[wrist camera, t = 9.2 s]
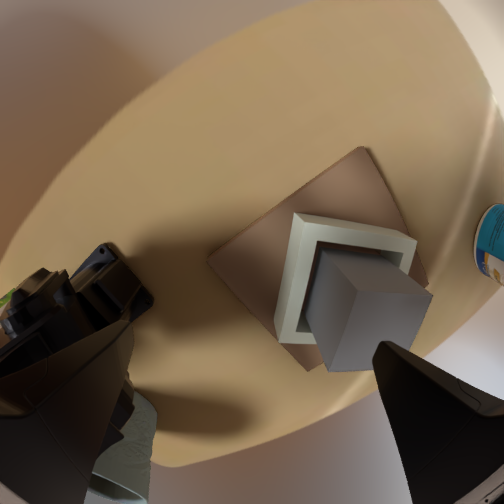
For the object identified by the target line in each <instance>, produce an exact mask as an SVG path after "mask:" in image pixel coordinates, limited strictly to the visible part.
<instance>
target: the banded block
mask: <svg viewBox="0 0 504 504" xmlns="http://www.w3.org/2000/svg"><path fill="white" fill-rule="evenodd" d="M432 297H433V295H432V294H431V293H429V292H428V291H427V290H426V289H425V288H423V287H422V286H421V285H420V284H418V283H417V282H416V281H414V280H413V279H412V278H411V277H409V276H408V275H407V274H406V273H404V272H403V271H402V270H400V269H399V268H398V267H396V266H395V265H394V264H392V263H391V262H390V261H388V260H387V259H386V258H384V257H383V256H382V255H380V254H379V253H378V252H376V251H375V250H374V249H370V248H363V247H357V246H350V245H343V244H336V243H329V242H322V241H317V243H316V248H315V253H314V257H313V262H312V266H311V271H310V275H309V280H308V284H307V288H306V292H305V296H304V300H303V304H302V309H303V312H304V314H305V316H306V319H307V321H308V324H309V326H310V329H311V331H312V333H313V336H314V338H315V341H316V343H317V346H318V348H319V351H320V353H321V356H322V358H323V361H324V363H325V365H326V368H327V371H328V372H347V371H365V370H374V369H373V365H372V358H373V355H374V353H375V351H376V349H377V346H378V344H379V343H380V342H381V341H392V342H394V343H395V344H397V345H399V346H401V347H402V348H404V349H406V350H408V351H409V349H410V347H411V345H412V343H413V341H414V339H415V337H416V335H417V332H418V330H419V328H420V326H421V324H422V321H423V319H424V317H425V314H426V312H427V309H428V307H429V304H430V302H431V299H432Z"/></svg>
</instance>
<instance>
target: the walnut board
mask: <svg viewBox="0 0 504 504" xmlns="http://www.w3.org/2000/svg"><path fill="white" fill-rule="evenodd" d="M294 212H295V213H302V214H308V215H314V216H321V217H327V218H333V219H339V220H345V221H351V222H356V223H362V224H367V225H373V226H378V227H383V228H389V229H394V230H397V231H399V232H401V233H403V234H405V235H407V236H409V237H410V234H409V232H408V230H407V228H406V225H405V223H404V221H403V219H402V217H401V215H400V212H399V210H398V208H397V206H396V204H395V202H394V200H393V198H392V196H391V194H390V192H389V190H388V189H387V187H386V185H385V183H384V181H383V179H382V177H381V176H380V174H379V172H378V170H377V168H376V167H375V165H374V163H373V161H372V160H371V158H370V156H369V155H368V153H367V151H366V150H365V148H364V146H363V147H357V148H356V149H354V150H353V151H351V152H350V153H348V154H347V155H346V156H344V157H343V158H341V159H340V160H339V161H337V162H336V163H334V164H333V165H331V166H330V167H329V168H327V169H326V170H324V171H323V172H322V173H320V174H319V175H317V176H316V177H315V178H313V179H312V180H311V181H309V182H308V183H306V184H305V185H304V186H302V187H301V188H299V189H298V190H297V191H295V192H294V193H293V194H291V195H290V196H288V197H287V198H286V199H284V200H283V201H282V202H280V203H279V204H278V205H276V206H275V207H274V208H272V209H271V210H269V211H268V212H267V213H265V214H264V215H263V216H261V217H260V218H259V219H257V220H256V221H255V222H253V223H252V224H251V225H249V226H248V227H247V228H245V229H244V230H243V231H241V232H240V233H239V234H237V235H236V236H235V237H233V238H232V239H231V240H229V241H228V242H227V243H225V244H224V245H223V246H221V247H220V248H219V249H217V250H216V251H215V252H214V253H212V254H211V255H210V256H208V258H207V261H206V262H207V263H208V264H209V265H210V267H211V268H212V269H213V270H214V271H215V272H216V273H217V275H218V276H219V277H220V278H221V279H222V280H223V281H224V283H225V284H226V285H227V286H228V287H229V288H230V289H231V290H232V292H233V293H234V294H235V295H236V296H237V297H238V298H239V299H240V300H241V302H242V303H243V304H244V305H245V306H246V307H247V308H248V309H249V310H250V311H251V312H252V314H253V315H254V316H255V317H256V318H257V319H258V320H259V321H260V322H261V323H262V324H263V325H264V327H265V328H266V329H267V330H268V331H269V332H270V333H271V334H272V335H273V336H274V337H275V338H276V339H277V340H278V338H277V334H276V329H275V325H274V315H275V310H276V306H277V301H278V296H279V291H280V286H281V281H282V276H283V271H284V265H285V260H286V255H287V250H288V244H289V239H290V233H291V228H292V222H293V216H294ZM322 242H325V241H322ZM329 243H332V242H329ZM336 244H339V243H336ZM343 245H346V244H343ZM350 246H353V245H350ZM357 247H360V246H357ZM363 248H367V247H363ZM370 249H374V248H370ZM374 250H375V251H376V252H378V253H379V254H380V253H381V249H374ZM408 276H409V277H411V278H412V279H413V280H414V281H416V282H417V283H418V284H420V285H421V286H422V287H423V288H425V287H426V286H427V285H428V284H429V283H428V280H427V277H426V274H425V272H424V269H423V266H422V264H421V261H420V259H419V256H418V253H417V251H416V249H415V252H414V256H413V259H412V263H411V266H410V269H409V273H408ZM301 311H303V309H302V308H301ZM280 344H281V345H282V346H283V347H284V348H285V349H286V350H287V351H288V352H289V353H290V354H291V355H292V356H293V357H294V358H295V359H296V360H297V361H298V362H299V363H300V364H301V365H302V366H303V367H304V368H305V369H306V370H307V372H308V371H310V370H311V369H313V368H315V367H316V366H318V365H320V364H321V363H323V362H324V361H323V358H322V356H321V353H320V351H319V348H318V346H317V344H293V343H280Z"/></svg>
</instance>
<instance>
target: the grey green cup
mask: <svg viewBox="0 0 504 504" xmlns="http://www.w3.org/2000/svg"><path fill="white" fill-rule="evenodd" d="M133 404H134V405H135V410H134V412H133V414H132V416H131V418H130V420H129V421H128V422H127V424H126V425H125V426H124V428H123V429H122V430H121V431H120V432H121V433H122V434H124V438H123V439H122V440H121V441H119V442H117V443H115V444H113V445H112V446H110V447H109V448H108V449H107V450H105V451H104V452H103V453H102V454H101V455H100V456H99V457H98V458H97V460H96V462H95V465H94V468H93V471H92V475H91V478H90V481H89V485H88V489H87V491H89V492H91V493H94V494H96V495H98V496H101V497H103V498H106V499H109V500H112V501H115V502H119V503H123V504H147V503H148V495H149V483H150V470H151V466H150V462H151V461H150V458H151V455H152V445H153V438H154V435H155V431H156V423H157V412H156V410H155V409H154V407H153V406H152V404H151V403H150V402H149V401H148V400H147V399H145V397H143V396H142V395H141V394H139V393H138V392H136V391H134V397H133Z"/></svg>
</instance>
